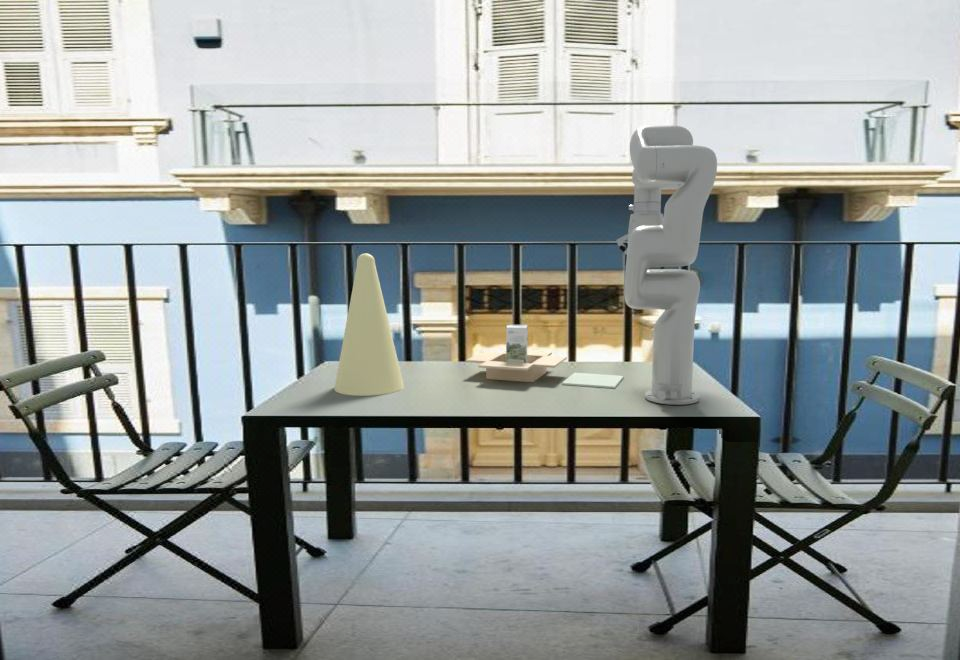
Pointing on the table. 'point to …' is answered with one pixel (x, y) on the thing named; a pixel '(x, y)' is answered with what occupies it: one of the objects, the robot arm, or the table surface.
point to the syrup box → (516, 343)
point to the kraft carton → (516, 365)
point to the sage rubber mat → (593, 380)
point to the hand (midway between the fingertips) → (645, 268)
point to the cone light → (367, 339)
